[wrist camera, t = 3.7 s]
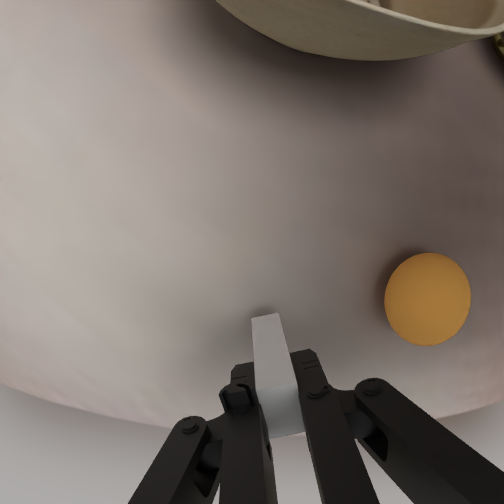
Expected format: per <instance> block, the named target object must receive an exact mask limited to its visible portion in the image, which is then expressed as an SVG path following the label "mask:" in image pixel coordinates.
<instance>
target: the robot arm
mask: <svg viewBox="0 0 504 504" xmlns="http://www.w3.org/2000/svg"><path fill="white" fill-rule="evenodd" d="M251 322H252V338H253V354H254V362H249V363H244V364H239V365H235V367H234V368H233V370H232V371H231V381H230V384H229V385H227V386H225V387H224V388H223V389H222V390H221V391H220V393H219V397H220V400H221V402H222V405H223V408H224V411H225V412H224V414H222V415H221V416H219V417H217V418H215V419H212V420H209V421H205V419H203V418H202V417H199V416H189V417H186V418H183V419H182V420H180V421H178V422H177V423H176V425H175V426H174V427H173V429H172V431H171V433H170V434H169V436H168V438H167V439H166V441H165V443H164V444H163V446H162V448H161V450H160V451H159V453H158V455H157V456H156V458H155V460H154V461H153V463H152V465H151V466H150V468H149V469H148V471H147V473H146V474H145V476H144V478H143V480H142V481H141V483H140V484H139V486H138V488H137V489H136V491H135V492H134V494H133V496H132V497H131V499H130V501H129V502H128V504H212V503H213V500H214V497H215V495H216V492H217V490H218V487H219V484H220V495H219V504H278V501H277V492H276V484H275V475H274V466H273V457H272V448H271V445H270V441H269V438H270V439H271V438H277V437H282V436H287V435H292V434H297V433H301V432H306V436H307V442H308V447H309V451H310V454H311V458H312V462H313V467H314V471H315V475H316V479H317V484H318V488H319V493H320V497H321V501H322V504H380V503H379V500H378V498H377V496H376V493H375V490H374V488H373V485H372V483H371V480H370V477H369V475H368V473H367V470H366V467H365V465H364V462H363V460H362V457H361V455H360V452H359V450H358V447H357V445H356V442H355V440H354V439H357V440H358V442H359V443H360V444H361V445H362V446H363V447H364V449H365V450H366V451H367V452H368V453H369V454H370V456H371V457H372V458H373V459H374V460H375V461H376V462H377V463H378V465H379V466H380V467H381V468H382V469H383V470H384V471H385V472H386V473H387V475H388V476H389V477H390V478H391V479H392V480H393V481H394V482H395V483H396V484H397V486H398V487H399V488H400V489H401V490H402V491H403V492H404V493H405V494H406V495H407V496H408V498H409V499H410V500H411V501H412V502H413V503H414V504H504V472H503V471H501V470H500V469H499V468H497V467H496V466H495V465H494V464H492V463H491V462H490V461H488V460H487V459H486V458H484V457H483V456H482V455H480V454H479V453H478V452H476V451H475V450H474V449H472V448H471V447H469V445H467V444H466V443H465V442H463V441H462V440H461V439H459V438H458V437H457V436H456V435H454V434H453V433H452V432H450V431H449V430H448V429H446V428H445V427H444V426H443V425H441V424H440V423H439V422H437V421H436V420H435V419H434V418H432V417H431V416H430V415H428V414H427V413H426V412H425V411H423V410H422V409H421V408H419V407H418V406H417V405H416V404H414V403H413V402H412V401H411V400H409V399H408V398H407V397H405V396H404V395H403V394H402V393H400V392H399V391H398V390H397V389H395V388H394V387H393V386H392V385H390V384H389V383H388V382H387V381H385V380H383V379H379V378H369V379H366V380H363V381H361V382H360V383H358V384H357V386H356V387H355V390H348V391H344V390H337V389H334V388H333V387H332V386H331V385H330V384H328V382H327V379H326V377H325V374H324V372H323V369H322V367H321V365H320V362H319V360H318V357H317V355H316V353H315V352H313V351H312V350H310V349H306V350H302V351H297V352H293V353H289V351H288V347H287V343H286V340H285V336H284V332H283V328H282V325H281V321H280V317H279V313H273V314H269V315H264V316H260V317H255V318H251Z"/></svg>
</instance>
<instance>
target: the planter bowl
mask: <svg viewBox="0 0 504 504" xmlns="http://www.w3.org/2000/svg"><path fill="white" fill-rule="evenodd" d="M216 1H217V2H218V3H219V4H220V5H221V6H222V7H224V8H225V9H226V10H227V11H228V12H230V13H231V14H232V15H234V16H235V17H236V18H238V19H239V20H241V21H242V22H244V23H245V24H247V25H248V26H250V27H251V28H253V29H255V30H257V31H258V32H260V33H262V34H264V35H266V36H268V37H270V38H272V39H273V40H275V41H277V42H279V43H281V44H283V45H285V46H288V47H290V48H293V49H296V50H299V51H303V52H307V53H312V54H318V55H324V56H329V57H334V58H342V59H350V60H373V61H379V60H398V59H408V58H414V57H419V56H424V55H429V54H433V53H437V52H440V51H444V50H447V49H450V48H453V47H455V46H458V45H460V44H463V43H465V42H467V41H471V40H478V39H482V38H487V37H491V36H493V35H496V34H498V33H501V32H503V31H504V0H216Z"/></svg>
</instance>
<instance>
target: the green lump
mask: <svg viewBox="0 0 504 504" xmlns="http://www.w3.org/2000/svg"><path fill="white" fill-rule="evenodd" d="M492 42H493V45H494V48H495V50H496V52H497V53H498V55H499V56H500V57H501V58H502V60H503V61H504V31H503V32H501V33H498V34H496V35H493V36H492Z"/></svg>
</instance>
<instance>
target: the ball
mask: <svg viewBox="0 0 504 504" xmlns="http://www.w3.org/2000/svg"><path fill="white" fill-rule="evenodd" d="M470 304H471V290H470V285H469V282H468V279H467V277H466V275H465V273H464V271H463V270H462V269H461V267H460V266H459V265H458V264H457V263H456V262H454V261H453V260H452V259H450V258H448V257H446V256H444V255H441V254H438V253H422V254H417V255H415V256H412V257H410V258H408V259H407V260H405V261H404V262H403V263H401V264H400V265H399V266H398V267H397V268H396V270H395V271H394V272H393V274H392V275H391V277H390V279H389V281H388V284H387V287H386V291H385V299H384V305H385V312H386V315H387V318H388V321H389V323H390V325H391V326H392V328H393V329H394V331H395V332H396V333H397V334H398V335H399V336H400V337H401V338H403V339H404V340H406V341H408V342H410V343H412V344H415V345H420V346H432V345H436V344H440V343H442V342H444V341H446V340H448V339H449V338H451V337H452V336H454V335H455V334H456V333H457V332H458V331H459V329H460V328H461V327H462V325H463V324H464V322H465V320H466V318H467V316H468V313H469V310H470Z"/></svg>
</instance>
